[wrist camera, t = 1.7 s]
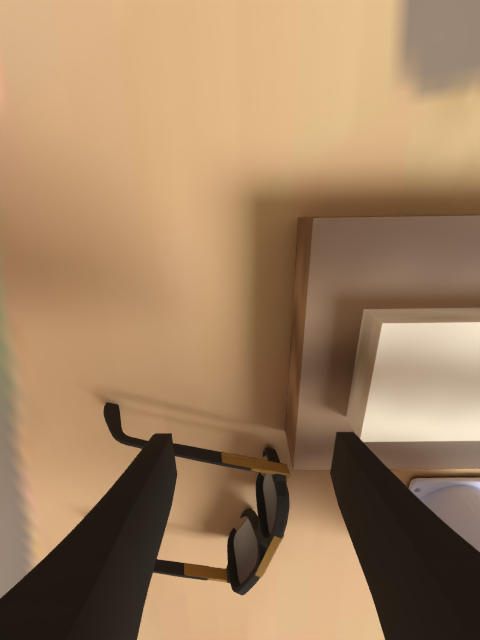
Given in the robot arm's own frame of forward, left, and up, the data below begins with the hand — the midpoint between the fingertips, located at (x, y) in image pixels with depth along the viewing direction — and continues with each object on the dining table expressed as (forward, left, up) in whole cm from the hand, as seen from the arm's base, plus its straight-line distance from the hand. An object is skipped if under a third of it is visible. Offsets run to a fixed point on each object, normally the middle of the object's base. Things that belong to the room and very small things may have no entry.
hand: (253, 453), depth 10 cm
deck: (0, -12, -9) cm, 15 cm away
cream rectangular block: (0, -11, -6) cm, 12 cm away
